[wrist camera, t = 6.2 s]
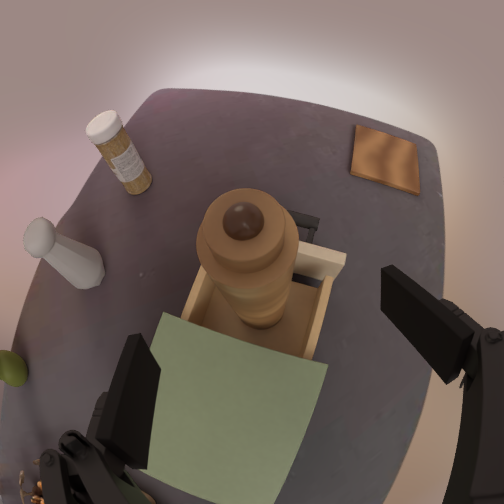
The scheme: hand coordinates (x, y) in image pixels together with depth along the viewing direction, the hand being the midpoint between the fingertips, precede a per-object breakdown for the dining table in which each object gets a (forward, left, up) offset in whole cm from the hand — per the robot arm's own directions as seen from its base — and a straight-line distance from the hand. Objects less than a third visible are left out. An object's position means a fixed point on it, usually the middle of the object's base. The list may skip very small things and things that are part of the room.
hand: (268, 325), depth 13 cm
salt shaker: (+25, 0, -16) cm, 30 cm away
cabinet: (+2, +9, -16) cm, 18 cm away
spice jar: (+25, -15, -16) cm, 34 cm away
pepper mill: (+2, -3, -14) cm, 15 cm away
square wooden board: (-10, -30, -16) cm, 36 cm away
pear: (+33, +20, -16) cm, 42 cm away
